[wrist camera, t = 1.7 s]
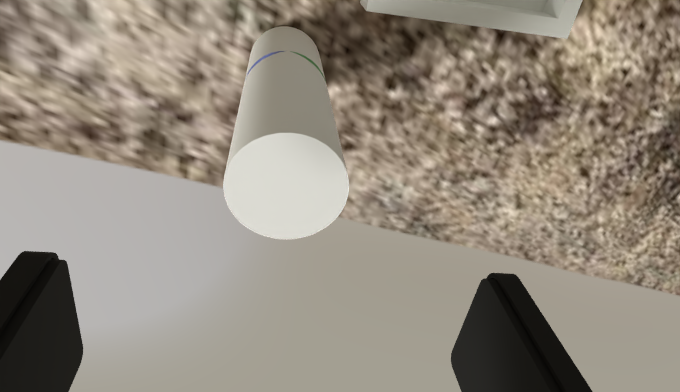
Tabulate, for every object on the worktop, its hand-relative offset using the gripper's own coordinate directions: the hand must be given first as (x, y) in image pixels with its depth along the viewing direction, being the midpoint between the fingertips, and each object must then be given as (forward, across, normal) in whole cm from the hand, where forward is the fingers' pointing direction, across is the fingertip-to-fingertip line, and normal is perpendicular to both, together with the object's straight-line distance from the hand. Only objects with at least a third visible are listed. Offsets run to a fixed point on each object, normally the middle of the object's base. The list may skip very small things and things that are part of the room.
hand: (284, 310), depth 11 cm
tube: (+21, 0, 0) cm, 21 cm away
